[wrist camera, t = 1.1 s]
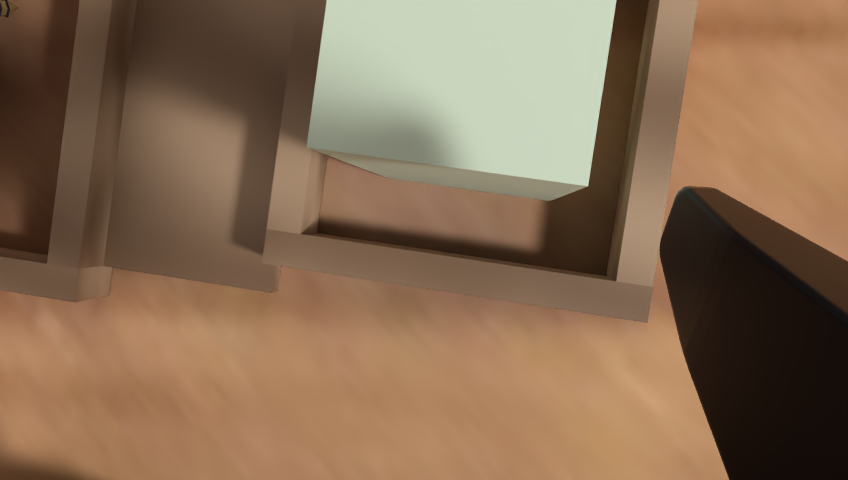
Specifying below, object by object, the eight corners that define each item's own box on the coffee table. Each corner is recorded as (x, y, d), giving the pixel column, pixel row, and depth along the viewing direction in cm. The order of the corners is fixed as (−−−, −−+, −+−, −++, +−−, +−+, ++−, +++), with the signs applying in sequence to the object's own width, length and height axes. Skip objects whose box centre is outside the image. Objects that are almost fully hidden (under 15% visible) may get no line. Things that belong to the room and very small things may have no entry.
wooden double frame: (624, 379, 23) (636, 394, 21) (-280, 232, 26) (-345, 233, 24) (702, -121, 22) (722, -155, 20) (-232, -213, 25) (-295, -251, 23)
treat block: (549, 201, 23) (588, 186, 13) (388, 178, 23) (306, 147, 13) (574, 36, 23) (632, -107, 13) (411, 17, 23) (344, -136, 13)
